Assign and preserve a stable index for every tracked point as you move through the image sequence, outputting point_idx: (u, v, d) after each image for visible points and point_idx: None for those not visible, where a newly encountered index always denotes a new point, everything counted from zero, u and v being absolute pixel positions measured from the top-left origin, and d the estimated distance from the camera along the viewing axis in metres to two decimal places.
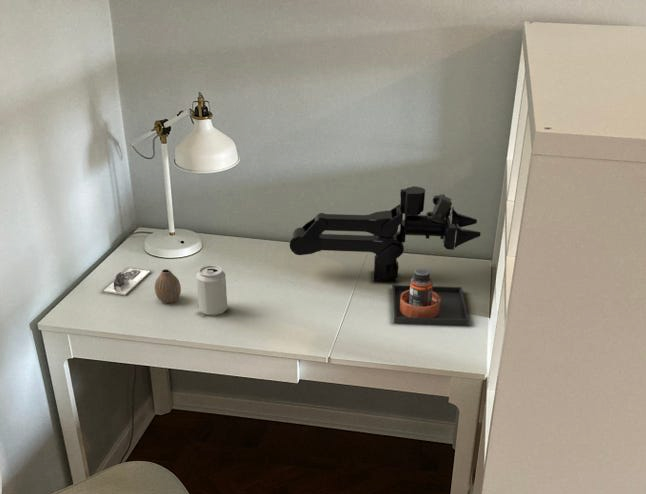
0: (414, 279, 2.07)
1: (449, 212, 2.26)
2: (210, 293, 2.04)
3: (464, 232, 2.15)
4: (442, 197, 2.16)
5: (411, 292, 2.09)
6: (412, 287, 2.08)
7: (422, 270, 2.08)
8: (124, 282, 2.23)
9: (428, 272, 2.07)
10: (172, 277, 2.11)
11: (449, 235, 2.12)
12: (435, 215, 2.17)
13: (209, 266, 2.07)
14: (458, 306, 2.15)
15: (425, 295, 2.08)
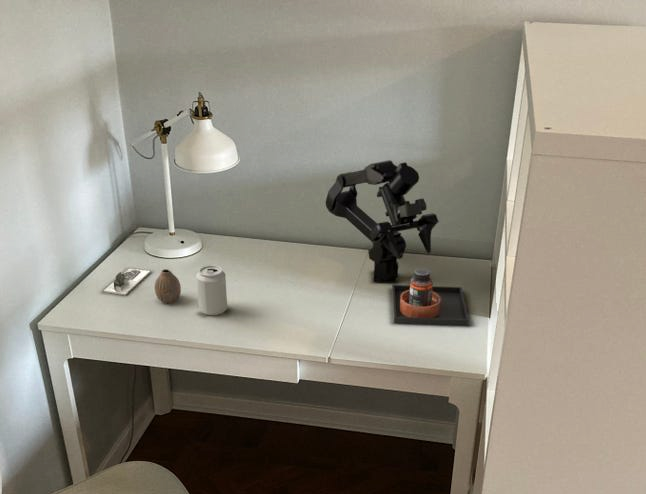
0: (414, 279, 2.07)
1: (430, 223, 2.15)
2: (210, 293, 2.04)
3: (390, 242, 2.09)
4: (413, 204, 2.06)
5: (411, 292, 2.09)
6: (412, 287, 2.08)
7: (422, 270, 2.08)
8: (124, 282, 2.23)
9: (428, 272, 2.07)
10: (172, 277, 2.11)
11: (375, 229, 2.09)
12: (397, 208, 2.10)
13: (209, 266, 2.07)
14: (458, 306, 2.15)
15: (425, 295, 2.08)
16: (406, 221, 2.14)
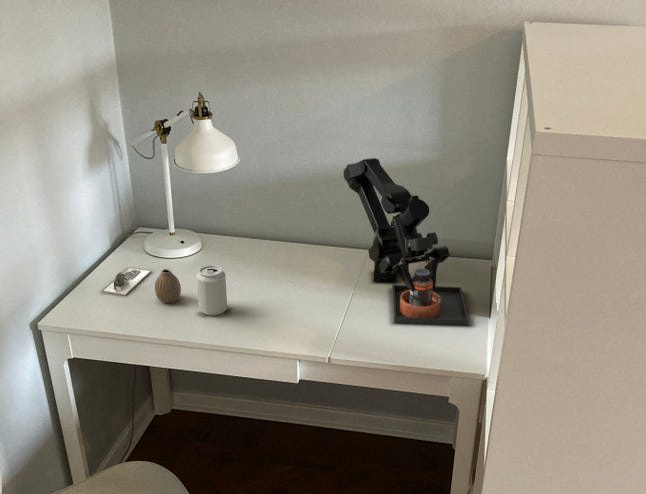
0: (414, 279, 2.07)
1: (441, 256, 2.11)
2: (210, 293, 2.04)
3: (404, 274, 2.07)
4: (424, 239, 2.02)
5: (411, 292, 2.09)
6: None
7: (422, 270, 2.08)
8: (124, 282, 2.23)
9: (428, 272, 2.07)
10: (172, 277, 2.11)
11: (384, 261, 2.05)
12: (408, 241, 2.06)
13: (209, 266, 2.07)
14: (458, 306, 2.15)
15: (425, 295, 2.08)
16: (417, 253, 2.10)
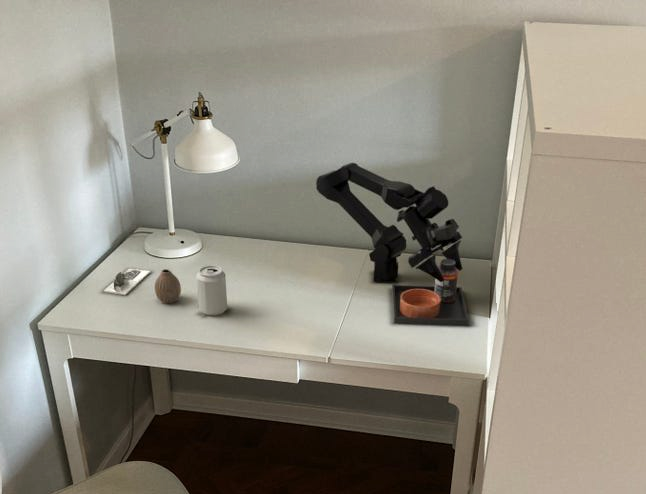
0: (442, 270, 2.13)
1: (454, 241, 2.18)
2: (210, 293, 2.04)
3: (432, 267, 2.09)
4: (451, 226, 2.08)
5: (440, 283, 2.14)
6: None
7: (446, 260, 2.13)
8: (124, 282, 2.23)
9: (453, 261, 2.13)
10: (172, 277, 2.11)
11: (418, 256, 2.07)
12: (432, 232, 2.10)
13: (209, 266, 2.07)
14: (458, 306, 2.15)
15: (454, 284, 2.14)
16: None
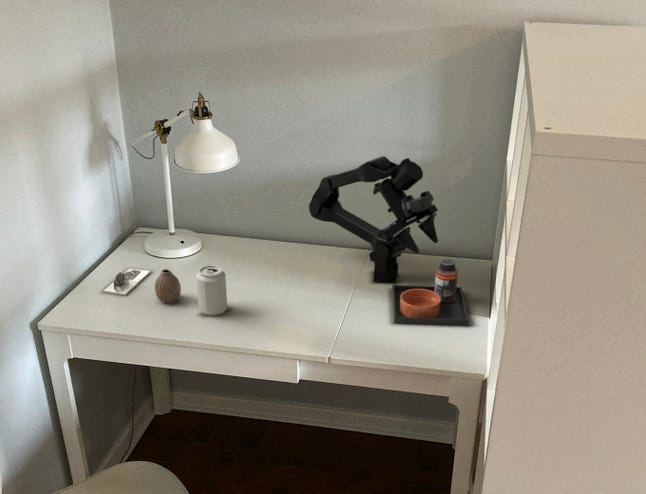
0: (442, 270, 2.13)
1: (430, 214, 2.19)
2: (210, 293, 2.04)
3: (407, 238, 2.11)
4: (425, 198, 2.09)
5: (440, 283, 2.14)
6: (441, 279, 2.13)
7: (446, 260, 2.13)
8: (124, 282, 2.23)
9: (453, 261, 2.13)
10: (172, 277, 2.11)
11: (392, 227, 2.08)
12: (407, 203, 2.11)
13: (209, 266, 2.07)
14: (458, 306, 2.15)
15: (454, 284, 2.14)
16: None
